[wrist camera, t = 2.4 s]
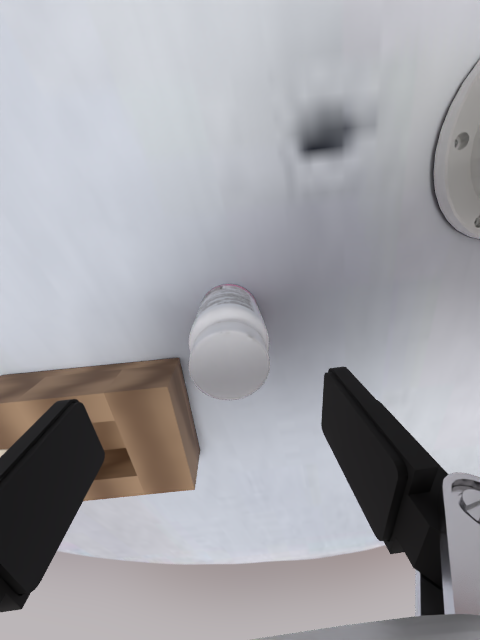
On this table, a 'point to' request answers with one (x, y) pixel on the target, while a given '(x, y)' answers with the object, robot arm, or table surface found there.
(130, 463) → the brown flat recessed slab
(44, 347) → the table surface
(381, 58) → the table surface
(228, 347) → the pill bottle
